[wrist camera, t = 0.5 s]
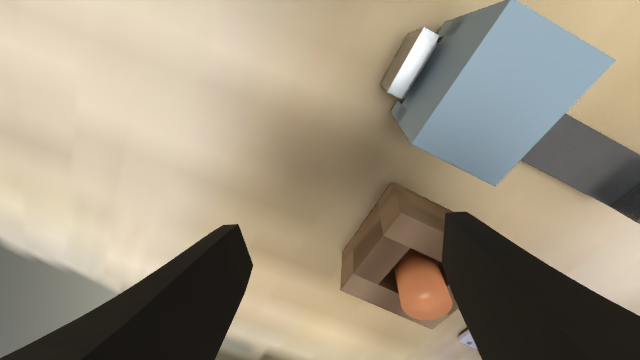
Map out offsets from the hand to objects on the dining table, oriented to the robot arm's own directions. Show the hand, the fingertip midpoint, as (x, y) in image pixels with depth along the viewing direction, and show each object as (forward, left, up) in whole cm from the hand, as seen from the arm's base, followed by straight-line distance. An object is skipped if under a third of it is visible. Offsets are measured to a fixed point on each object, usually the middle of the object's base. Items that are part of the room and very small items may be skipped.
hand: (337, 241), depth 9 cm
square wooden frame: (-8, +5, -10) cm, 14 cm away
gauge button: (-8, +5, -7) cm, 12 cm away
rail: (-8, -6, -10) cm, 14 cm away
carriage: (-3, -6, -10) cm, 12 cm away
